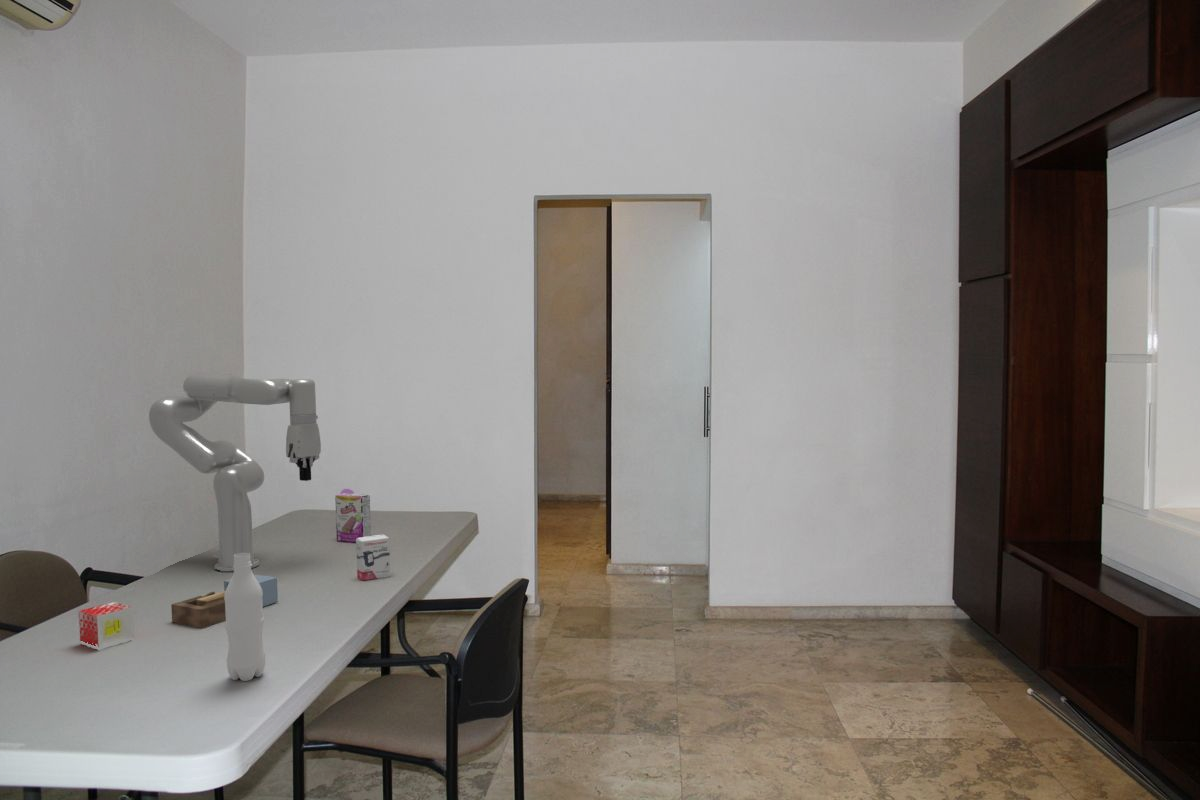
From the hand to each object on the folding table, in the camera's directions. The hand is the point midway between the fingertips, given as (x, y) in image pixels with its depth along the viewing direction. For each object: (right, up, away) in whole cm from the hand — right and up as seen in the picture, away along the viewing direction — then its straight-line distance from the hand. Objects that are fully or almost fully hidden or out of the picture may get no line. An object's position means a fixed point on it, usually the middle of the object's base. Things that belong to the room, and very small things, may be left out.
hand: (305, 480), depth 258 cm
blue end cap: (-2, -29, -35) cm, 46 cm away
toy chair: (-3, -24, +60) cm, 64 cm away
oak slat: (-5, -30, -41) cm, 51 cm away
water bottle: (+18, -32, -86) cm, 94 cm away
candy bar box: (+4, -25, +38) cm, 46 cm away
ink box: (+24, -28, -10) cm, 38 cm away
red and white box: (-23, -31, -64) cm, 75 cm away
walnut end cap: (-8, -30, -47) cm, 56 cm away
